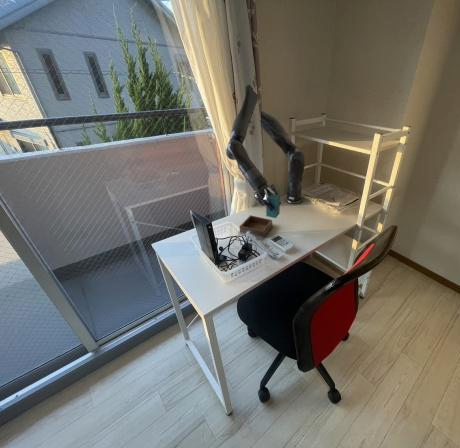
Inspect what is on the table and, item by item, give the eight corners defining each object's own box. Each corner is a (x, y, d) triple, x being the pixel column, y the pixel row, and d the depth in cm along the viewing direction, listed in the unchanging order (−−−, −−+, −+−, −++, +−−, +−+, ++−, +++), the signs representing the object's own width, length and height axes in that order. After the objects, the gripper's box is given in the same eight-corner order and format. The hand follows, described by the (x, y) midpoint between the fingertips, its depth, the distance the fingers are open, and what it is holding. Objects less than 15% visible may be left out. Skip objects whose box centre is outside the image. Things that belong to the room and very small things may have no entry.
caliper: (246, 239, 122) (245, 229, 119) (247, 238, 123) (247, 228, 120) (274, 259, 110) (274, 247, 107) (276, 257, 111) (276, 246, 108)
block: (270, 211, 124) (270, 193, 119) (279, 213, 123) (280, 195, 117) (266, 216, 120) (266, 197, 115) (275, 218, 119) (276, 199, 113)
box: (250, 221, 136) (250, 215, 134) (272, 226, 133) (272, 220, 131) (240, 233, 127) (239, 226, 124) (263, 238, 123) (262, 231, 121)
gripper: (259, 178, 124) (279, 205, 126) (241, 187, 114) (263, 216, 115) (268, 170, 119) (288, 198, 121) (250, 179, 109) (273, 210, 110)
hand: (276, 207), depth 118 cm, fingers closed on block, 5 cm apart
